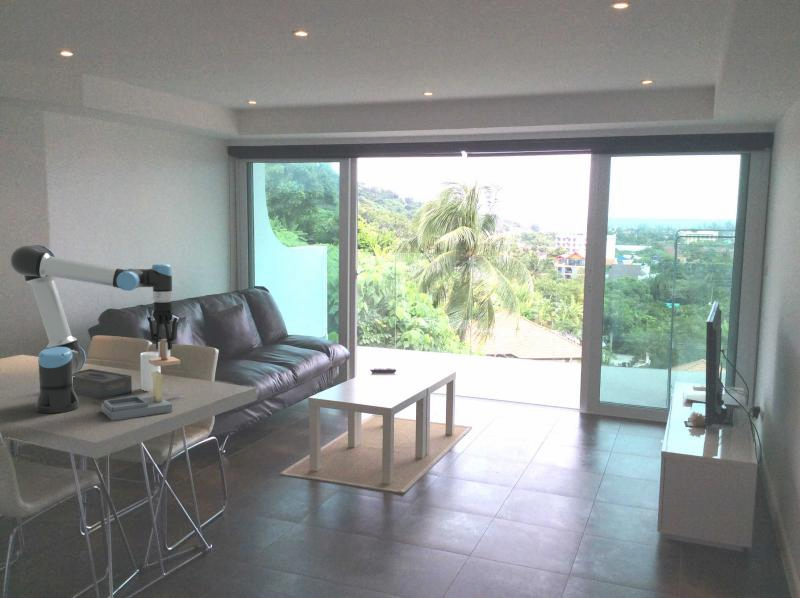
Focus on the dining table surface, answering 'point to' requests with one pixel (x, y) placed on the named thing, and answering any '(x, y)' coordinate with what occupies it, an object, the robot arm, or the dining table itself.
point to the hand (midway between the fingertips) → (164, 357)
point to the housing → (134, 407)
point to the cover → (164, 357)
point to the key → (156, 386)
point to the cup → (148, 370)
